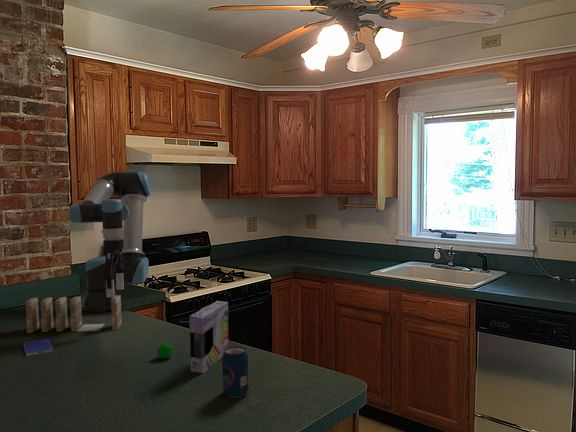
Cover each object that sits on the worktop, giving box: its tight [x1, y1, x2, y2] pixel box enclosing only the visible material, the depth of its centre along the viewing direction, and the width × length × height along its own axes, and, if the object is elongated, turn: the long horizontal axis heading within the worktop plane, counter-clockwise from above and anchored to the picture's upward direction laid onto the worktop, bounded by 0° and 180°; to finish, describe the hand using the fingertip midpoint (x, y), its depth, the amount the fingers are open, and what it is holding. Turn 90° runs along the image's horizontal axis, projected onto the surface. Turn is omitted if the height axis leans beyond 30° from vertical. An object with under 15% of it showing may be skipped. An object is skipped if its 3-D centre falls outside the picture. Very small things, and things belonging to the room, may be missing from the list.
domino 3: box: [54, 296, 69, 332], centre depth 195 cm, size 2×6×12 cm, turn 4°
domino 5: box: [111, 294, 123, 330], centre depth 197 cm, size 2×6×12 cm, turn 4°
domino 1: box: [25, 297, 40, 333], centre depth 194 cm, size 2×6×12 cm, turn 4°
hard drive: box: [23, 338, 54, 357], centre depth 174 cm, size 2×8×12 cm
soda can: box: [221, 346, 250, 399], centre depth 135 cm, size 7×7×12 cm
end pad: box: [76, 323, 105, 332], centre depth 196 cm, size 8×8×1 cm
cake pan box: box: [189, 300, 229, 374], centre depth 157 cm, size 19×5×18 cm, turn 161°
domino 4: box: [69, 296, 83, 332], centre depth 196 cm, size 2×6×12 cm, turn 4°
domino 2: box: [39, 296, 54, 333], centre depth 195 cm, size 2×6×12 cm, turn 4°
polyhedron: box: [156, 342, 174, 360], centre depth 163 cm, size 5×5×5 cm
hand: (115, 293), depth 196 cm, fingers open, 13 cm apart
